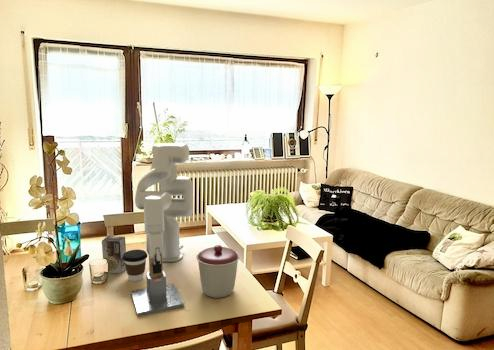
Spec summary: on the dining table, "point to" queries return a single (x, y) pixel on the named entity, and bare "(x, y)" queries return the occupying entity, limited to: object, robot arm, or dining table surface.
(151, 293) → the stand
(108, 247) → the coffee box
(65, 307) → the dining table surface
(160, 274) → the post
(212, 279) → the canister
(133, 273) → the coffee cup
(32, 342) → the dining table surface
